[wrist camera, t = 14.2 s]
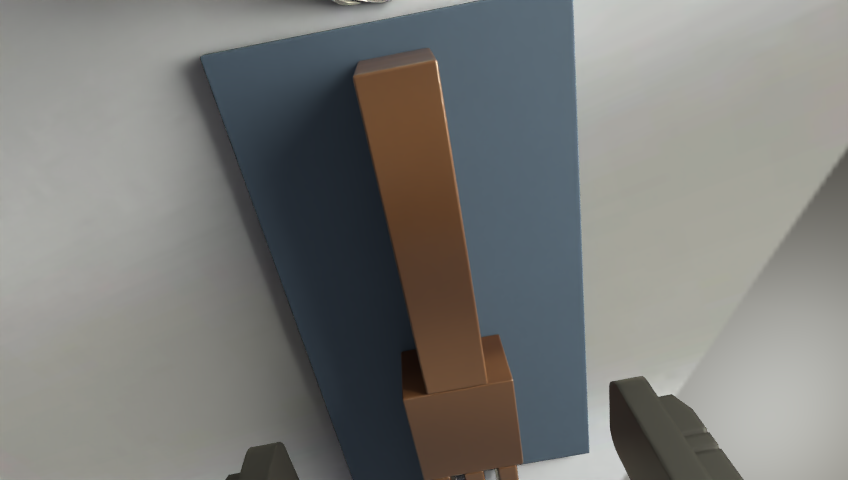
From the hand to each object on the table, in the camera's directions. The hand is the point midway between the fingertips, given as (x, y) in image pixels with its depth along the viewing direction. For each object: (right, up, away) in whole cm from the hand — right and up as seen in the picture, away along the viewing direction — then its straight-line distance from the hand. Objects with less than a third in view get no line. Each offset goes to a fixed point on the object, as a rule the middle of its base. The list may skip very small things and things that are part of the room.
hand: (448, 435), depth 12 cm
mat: (0, +3, +5) cm, 6 cm away
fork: (0, +3, +5) cm, 6 cm away
